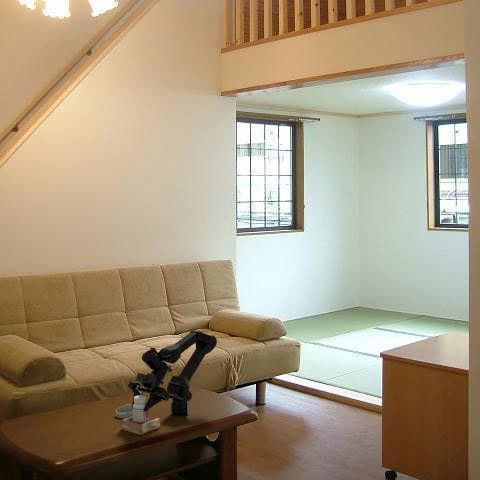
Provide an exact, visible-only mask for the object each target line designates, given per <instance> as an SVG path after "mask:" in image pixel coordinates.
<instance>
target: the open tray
mask: <svg viewBox="0 0 480 480" xmlns="http://www.w3.org/2000/svg"><path fill="white" fill-rule="evenodd" d="M160 419H161V418H160V417H159V418H154V419H152V420H149V422H146V423H144V424H141V425H140V424H136V423H133V416H132V417H129V418H126V419H125V418H123V419H121V421H120V430H122V431H126V432H129V433H133V434H136V435H141V436H142V435H144V434H147V433H149V432H152V431H154V430H157V429H159V428H161V427H160V426H161V424H160V423H161V420H160Z"/></svg>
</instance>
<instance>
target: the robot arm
mask: <svg viewBox="0 0 480 480" xmlns="http://www.w3.org/2000/svg"><path fill="white" fill-rule="evenodd" d="M217 344H218V339H217V337H216V336H215V335H212V334H207V333H204V332H203V331H201V330H195V329H194V330H190V332H189V333H188V334H186V335H185V336H184V337H182V338H181V339H179V340H178V341H176V342H175V343H174V344H171V345H167V346H165V347H162V348H161V349H160V350H159V351H157V349H156V348H155V347H151V348H150V349H148V350H147V351H145V352H144V353H143V354H142V356H141V360H142V362H143V363H144V364H145V365H146V366H147V367H148V368H149V369H150V370H151V371H150V372H148V373H147V374H145V373H139V372H137V374H136V377H135V381H133V380H132V381H129V383H128V385H127V388H128V389H130V390H131V392H132V393H133V396H132V397H133V398H132V403H131V405H132V408H133V404H134V403H135V402H134V397H135V396H138V395H144V394H143V393H145V394H146V393H147V394H149V397H148V398H147V403H146V405H145V407H144V410H143V411H144V412H146V411H147V410H149V411H150V409H151V408H153V407H154V406H155V405H158V404H159V403H162V402H163V401H164V402H169V399H172V401H171V404H170V405H171V406H170V410H171V411H170V413H171V415H172V416H188V415H189V411H190V409H189V402H190V401H191V400H192V399H193V393H192V392H191V391H190V390H189V389H190V381H191V380H192V378H193V376H194V374H195V373H196V371H197V370H198V368H199V366H200V364H201V363H202V361H203V359H204V358H205V356H207V355H208V354H209V353H211V352H212V351H213V350H214V349H215V348H216V347H217ZM193 345H195V350H194V351H193V352H192V354H191V356H190V357H189V359H188V361H187V362H186V363H185V366H184V367H183V369H181V372H180V373H179V374H178V375H173V376H172V377H171V378H170V381H168V383H167V386H166V388H164V387H160V386H161V385H162V386H163V385H164V384H165V382H164V379H165V377H166V375H167V374H168V373H173V369H172V364H173V365H174V364H176V363H177V362H178V361H179V359H180V358H181V356H182V354H183V353H184V352H185V351H186V350H188V349H189V348H190V347H192V346H193ZM169 364H171V365H169Z"/></svg>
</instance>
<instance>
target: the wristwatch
mask: <svg viewBox="0 0 480 480" xmlns="http://www.w3.org/2000/svg"><path fill="white" fill-rule="evenodd" d="M115 414H116V418H119V419H126V418H129V417H132V416H133V408H132V403H128V404H127V403H125V404H124V405H122V406H120V407H118V408H116V410H115Z"/></svg>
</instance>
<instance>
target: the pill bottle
mask: <svg viewBox="0 0 480 480" xmlns="http://www.w3.org/2000/svg"><path fill="white" fill-rule="evenodd" d="M147 401H148V396H147V395H144V394H142V395H138V396H135V397H134V402H135V403H134V404H133V423H136V424H140V425H141V424H144V423H146V422H149V421H150V412H149V411H150V409H149V410H147V411H146V412H144V411H143V410H144V407H145V405H146V403H147Z"/></svg>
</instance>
